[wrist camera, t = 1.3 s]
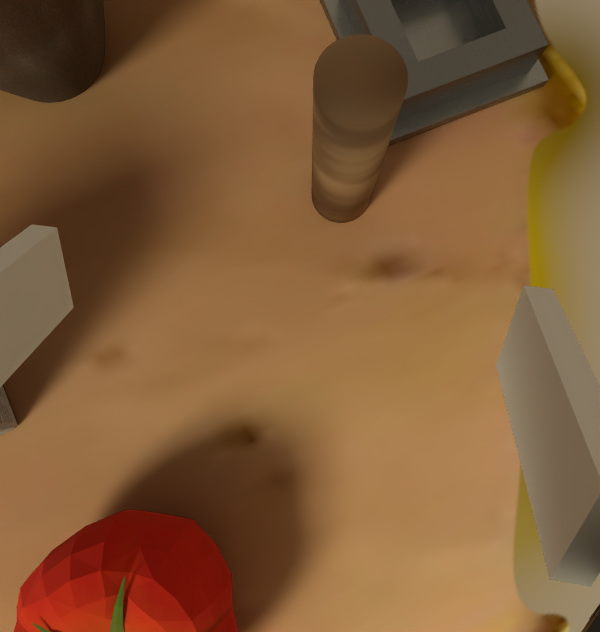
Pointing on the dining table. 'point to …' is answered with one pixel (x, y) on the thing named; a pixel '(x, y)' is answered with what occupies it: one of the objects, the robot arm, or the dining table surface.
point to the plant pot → (50, 47)
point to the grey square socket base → (450, 53)
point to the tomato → (131, 580)
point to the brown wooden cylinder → (353, 121)
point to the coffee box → (6, 413)
